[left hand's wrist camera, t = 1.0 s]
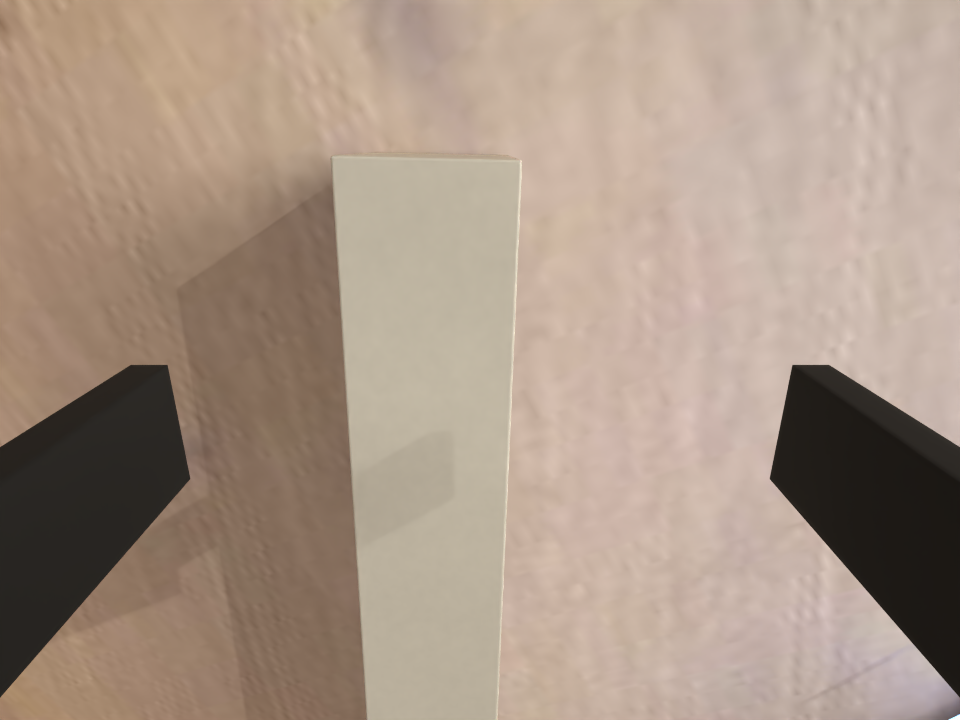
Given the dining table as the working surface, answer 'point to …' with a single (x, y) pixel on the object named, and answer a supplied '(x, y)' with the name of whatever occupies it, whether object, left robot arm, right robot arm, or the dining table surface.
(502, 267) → the bar
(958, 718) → the right robot arm
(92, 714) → the dining table surface
